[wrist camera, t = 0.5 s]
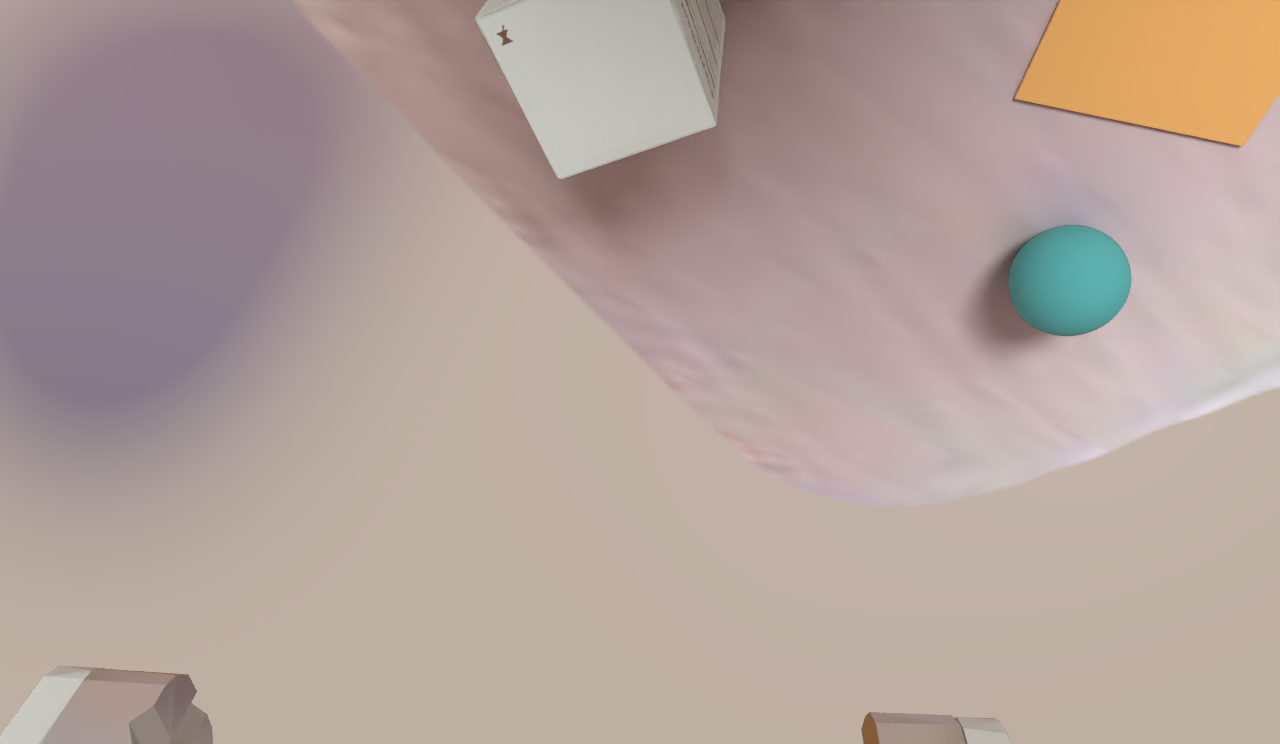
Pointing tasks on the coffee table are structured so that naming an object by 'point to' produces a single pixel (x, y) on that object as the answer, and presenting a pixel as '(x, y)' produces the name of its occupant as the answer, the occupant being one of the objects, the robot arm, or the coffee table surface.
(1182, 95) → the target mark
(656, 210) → the coffee table surface
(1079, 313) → the ball
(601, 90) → the supplement box
